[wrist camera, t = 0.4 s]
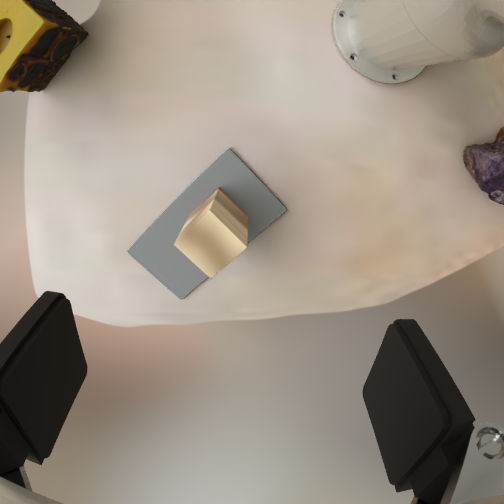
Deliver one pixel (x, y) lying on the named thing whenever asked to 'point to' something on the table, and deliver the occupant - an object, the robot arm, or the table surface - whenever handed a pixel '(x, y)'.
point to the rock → (488, 166)
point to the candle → (34, 43)
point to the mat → (175, 216)
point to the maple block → (214, 233)
